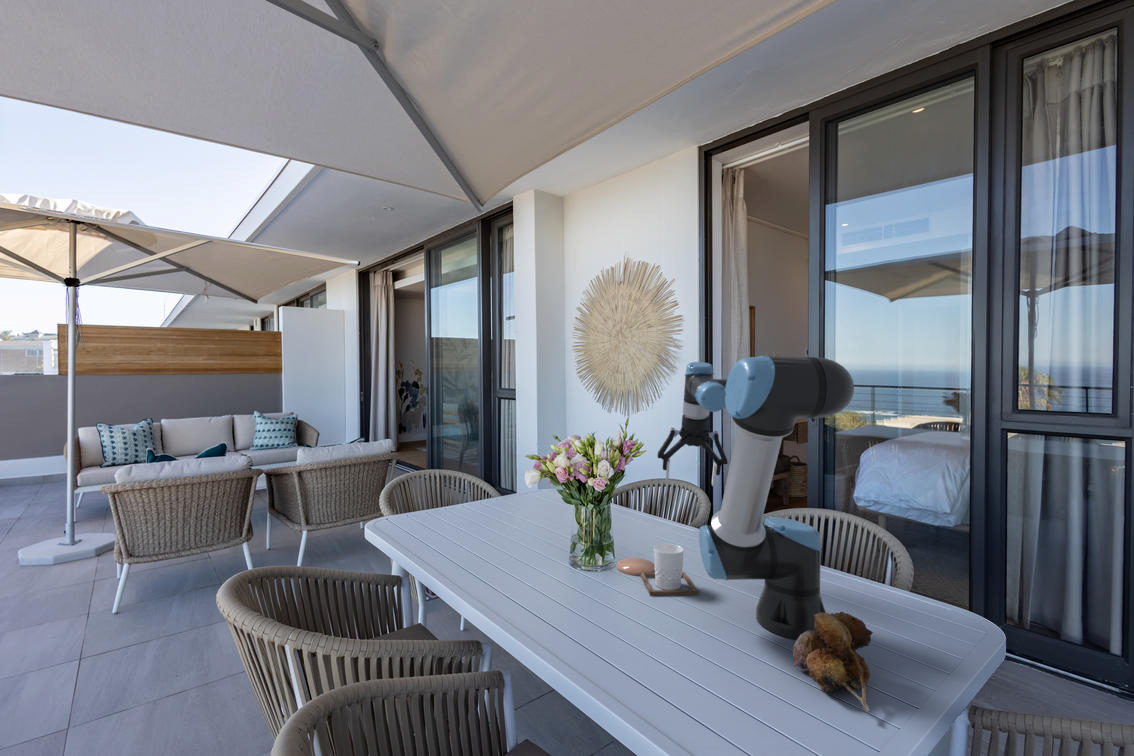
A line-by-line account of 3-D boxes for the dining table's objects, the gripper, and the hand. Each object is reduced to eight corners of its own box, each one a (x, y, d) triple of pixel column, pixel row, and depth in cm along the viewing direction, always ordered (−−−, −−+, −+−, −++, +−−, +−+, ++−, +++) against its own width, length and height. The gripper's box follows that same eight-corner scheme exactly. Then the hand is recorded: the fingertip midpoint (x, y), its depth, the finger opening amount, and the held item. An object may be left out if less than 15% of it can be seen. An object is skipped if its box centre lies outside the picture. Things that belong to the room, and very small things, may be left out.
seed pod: (906, 645, 95) (825, 596, 105) (892, 661, 83) (802, 605, 93) (876, 707, 96) (799, 653, 106) (858, 732, 84) (773, 669, 94)
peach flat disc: (658, 575, 145) (658, 571, 145) (620, 575, 144) (620, 572, 144) (650, 561, 156) (650, 557, 156) (614, 561, 155) (614, 558, 155)
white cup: (681, 580, 141) (681, 544, 141) (685, 592, 133) (685, 554, 133) (652, 578, 142) (652, 543, 142) (654, 590, 134) (654, 552, 134)
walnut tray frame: (698, 594, 132) (698, 591, 132) (650, 595, 131) (650, 591, 131) (684, 575, 144) (684, 572, 144) (640, 576, 144) (640, 572, 144)
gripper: (738, 414, 150) (731, 480, 155) (652, 408, 154) (648, 472, 160) (742, 423, 143) (734, 492, 148) (651, 415, 147) (647, 483, 153)
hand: (689, 482), depth 154 cm, fingers open, 13 cm apart
